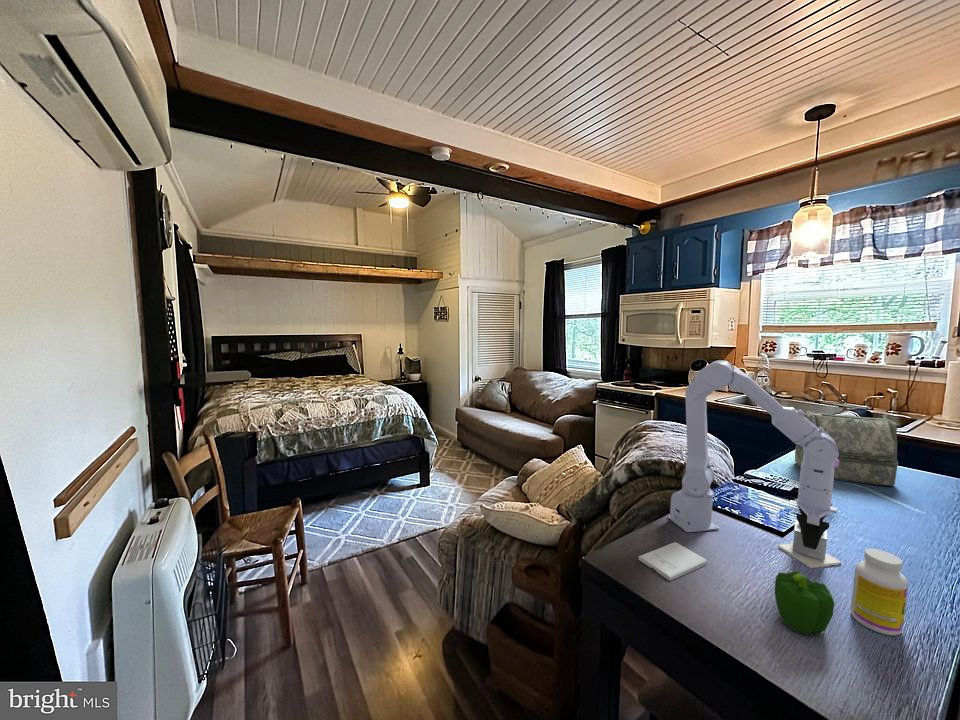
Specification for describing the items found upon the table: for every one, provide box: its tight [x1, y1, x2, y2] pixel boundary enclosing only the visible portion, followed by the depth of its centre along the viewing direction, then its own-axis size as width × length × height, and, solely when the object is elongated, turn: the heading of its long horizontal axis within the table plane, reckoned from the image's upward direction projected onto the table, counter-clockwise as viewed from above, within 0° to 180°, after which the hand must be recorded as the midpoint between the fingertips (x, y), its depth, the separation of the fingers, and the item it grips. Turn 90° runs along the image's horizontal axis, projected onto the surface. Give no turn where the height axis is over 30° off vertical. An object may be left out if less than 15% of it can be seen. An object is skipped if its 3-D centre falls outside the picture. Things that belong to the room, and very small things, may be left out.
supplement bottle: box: [850, 548, 909, 636], centre depth 70 cm, size 7×7×13 cm
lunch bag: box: [794, 410, 899, 486], centre depth 137 cm, size 26×18×22 cm
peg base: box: [777, 542, 842, 569], centre depth 90 cm, size 8×8×5 cm
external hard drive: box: [638, 541, 708, 582], centre depth 88 cm, size 2×8×12 cm
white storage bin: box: [792, 520, 828, 560], centre depth 90 cm, size 6×6×5 cm
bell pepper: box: [774, 571, 835, 635], centre depth 70 cm, size 8×8×10 cm
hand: (809, 541), depth 90 cm, fingers closed on white storage bin, 5 cm apart
